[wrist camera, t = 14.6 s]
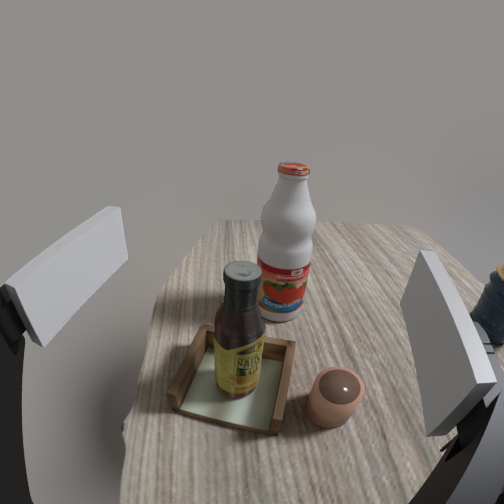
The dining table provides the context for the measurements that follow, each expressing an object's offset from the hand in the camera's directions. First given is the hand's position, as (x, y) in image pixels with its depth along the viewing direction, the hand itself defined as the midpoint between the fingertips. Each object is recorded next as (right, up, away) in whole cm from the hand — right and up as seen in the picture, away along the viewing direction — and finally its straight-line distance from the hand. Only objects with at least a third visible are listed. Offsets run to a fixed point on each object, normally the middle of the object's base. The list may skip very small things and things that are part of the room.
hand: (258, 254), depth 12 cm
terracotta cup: (+11, -23, +26) cm, 36 cm away
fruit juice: (+5, -11, +46) cm, 47 cm away
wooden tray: (-3, -20, +29) cm, 35 cm away
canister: (+56, -18, +39) cm, 71 cm away
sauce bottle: (-2, -19, +28) cm, 34 cm away
